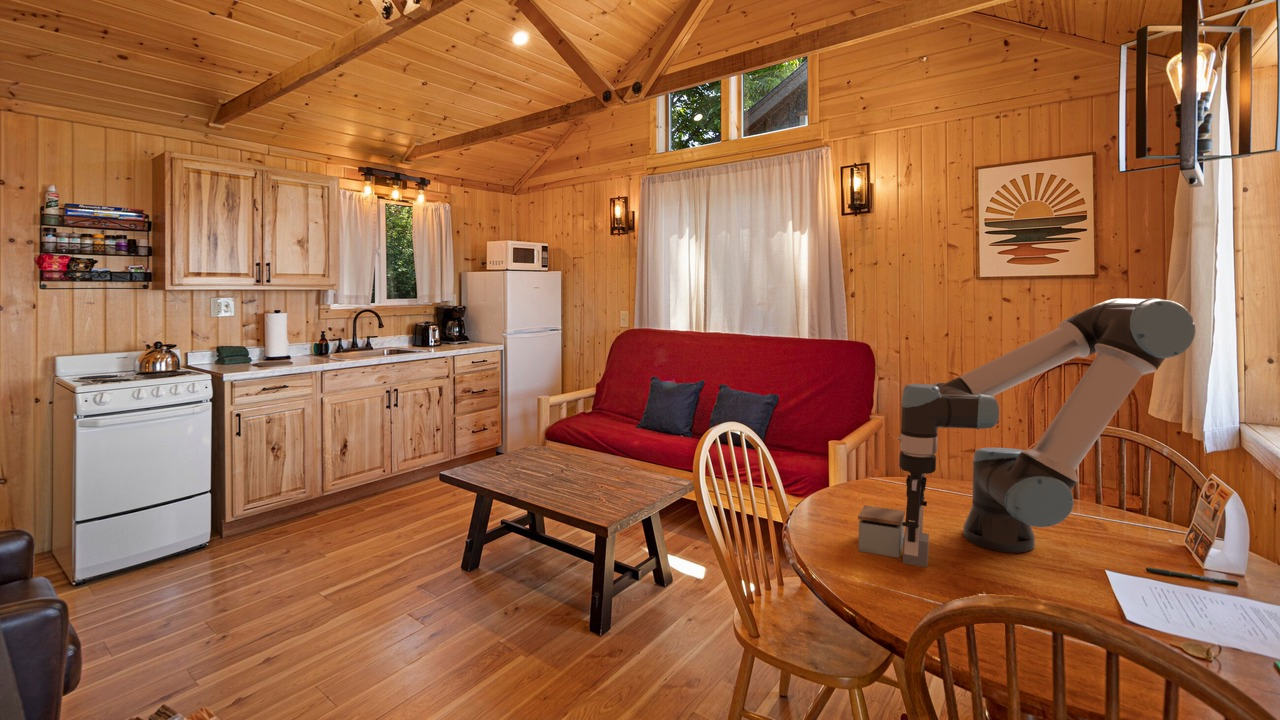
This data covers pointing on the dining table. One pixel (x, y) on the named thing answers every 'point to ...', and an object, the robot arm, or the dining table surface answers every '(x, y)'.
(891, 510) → the lid
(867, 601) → the dining table surface
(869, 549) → the box
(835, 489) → the dining table surface
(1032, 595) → the dining table surface
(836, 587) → the dining table surface
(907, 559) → the slate block
